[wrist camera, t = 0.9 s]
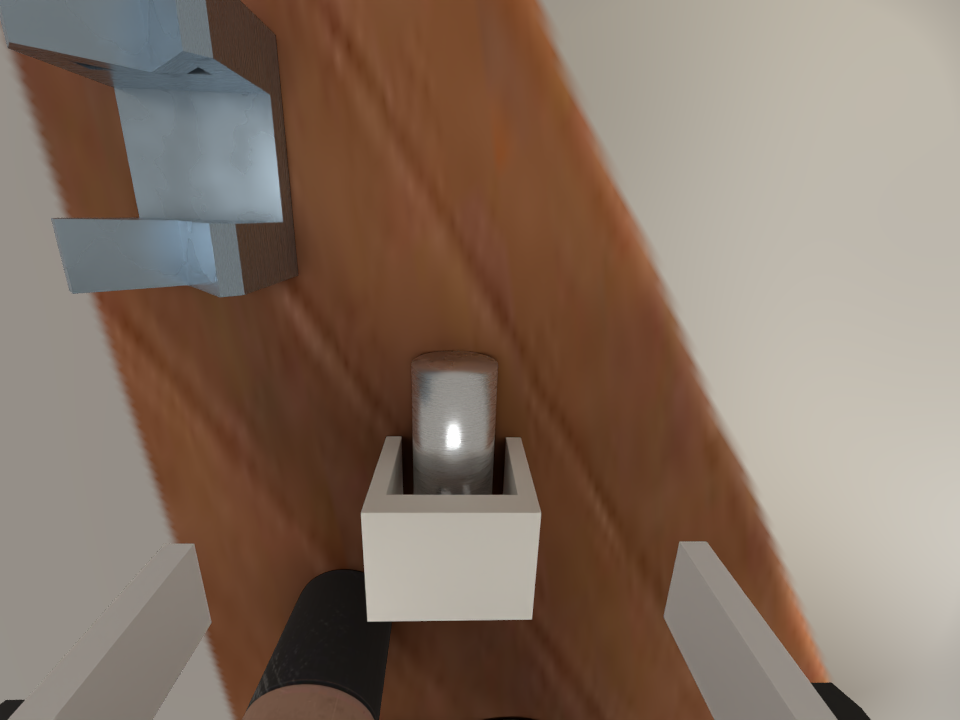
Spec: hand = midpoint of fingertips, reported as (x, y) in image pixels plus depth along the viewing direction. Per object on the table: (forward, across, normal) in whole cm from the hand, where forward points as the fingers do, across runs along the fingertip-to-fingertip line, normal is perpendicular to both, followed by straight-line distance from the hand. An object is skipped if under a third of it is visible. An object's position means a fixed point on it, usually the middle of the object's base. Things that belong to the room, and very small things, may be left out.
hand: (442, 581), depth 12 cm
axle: (+17, 0, +4) cm, 17 cm away
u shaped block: (+17, 0, +8) cm, 19 cm away
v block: (+17, +13, -12) cm, 24 cm away
